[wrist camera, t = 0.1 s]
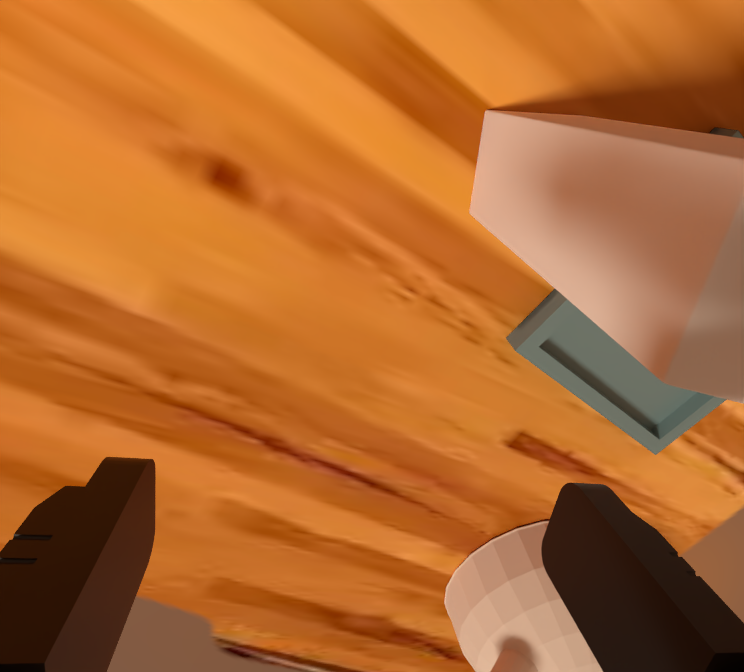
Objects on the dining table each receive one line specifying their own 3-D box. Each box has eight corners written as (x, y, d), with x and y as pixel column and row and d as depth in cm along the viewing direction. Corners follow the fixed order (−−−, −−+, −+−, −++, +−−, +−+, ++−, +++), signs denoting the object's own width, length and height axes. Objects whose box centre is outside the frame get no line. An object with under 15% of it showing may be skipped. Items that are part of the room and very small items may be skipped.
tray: (714, 127, 29) (738, 130, 27) (833, 287, 35) (857, 296, 34) (505, 338, 34) (515, 350, 33) (642, 440, 41) (655, 454, 40)
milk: (581, 115, 27) (1218, 197, 8) (556, 218, 30) (984, 457, 11) (481, 109, 27) (928, 186, 7) (465, 215, 30) (758, 468, 10)
